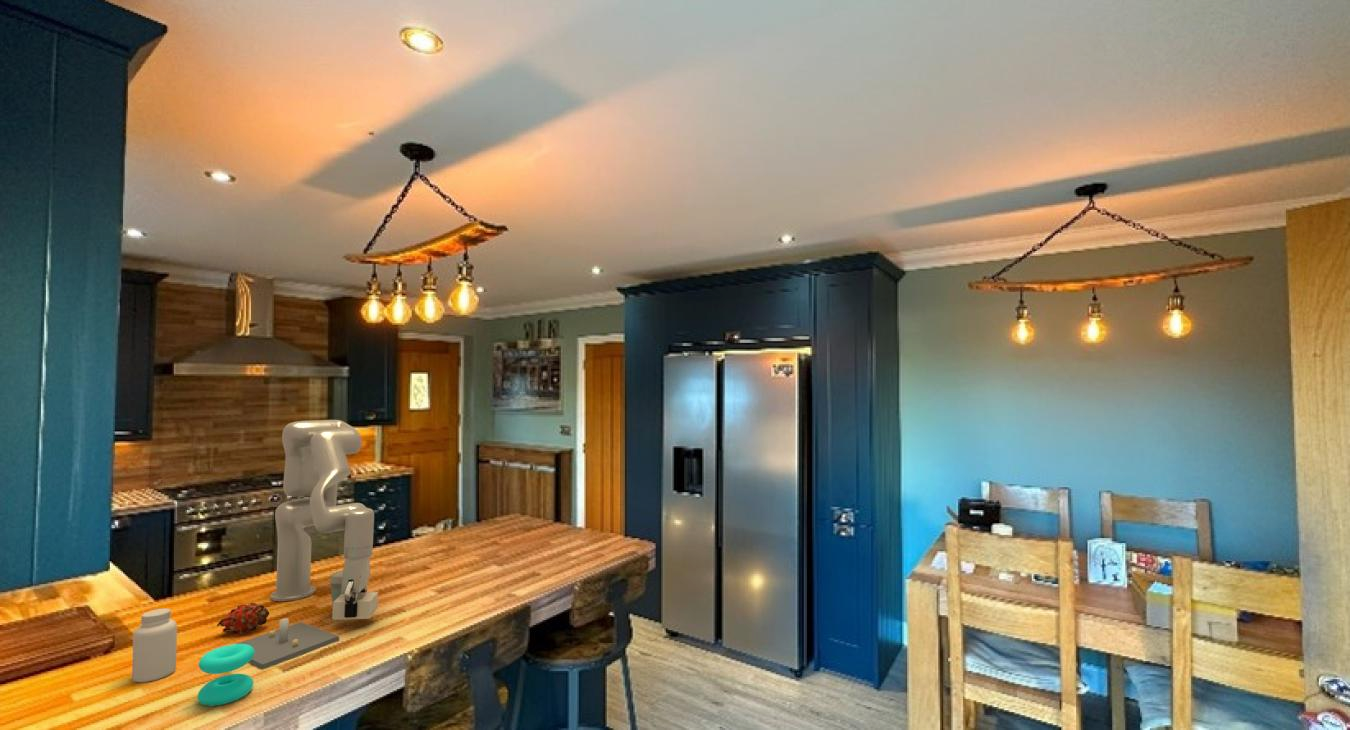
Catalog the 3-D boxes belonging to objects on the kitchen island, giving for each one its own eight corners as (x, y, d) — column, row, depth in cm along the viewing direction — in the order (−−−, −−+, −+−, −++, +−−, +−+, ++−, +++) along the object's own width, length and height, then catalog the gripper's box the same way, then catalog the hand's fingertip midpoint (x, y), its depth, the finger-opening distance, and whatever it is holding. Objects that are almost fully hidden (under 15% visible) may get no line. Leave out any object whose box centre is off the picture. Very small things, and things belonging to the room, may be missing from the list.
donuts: (259, 638, 138) (247, 656, 128) (258, 681, 137) (246, 702, 128) (207, 646, 134) (191, 665, 125) (206, 690, 133) (190, 712, 124)
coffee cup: (345, 618, 174) (346, 578, 175) (321, 616, 176) (322, 576, 177) (366, 608, 183) (367, 569, 183) (342, 605, 185) (343, 567, 185)
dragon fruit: (272, 633, 167) (220, 649, 161) (271, 608, 173) (221, 623, 167) (268, 616, 163) (214, 631, 157) (267, 591, 169) (215, 605, 162)
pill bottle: (149, 667, 144) (152, 606, 144) (184, 666, 144) (186, 605, 145) (122, 684, 136) (124, 619, 136) (158, 682, 136) (161, 618, 137)
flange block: (332, 619, 166) (332, 602, 166) (341, 609, 173) (342, 593, 173) (369, 618, 168) (370, 601, 168) (377, 608, 175) (378, 592, 175)
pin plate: (225, 651, 152) (225, 624, 153) (300, 626, 169) (301, 601, 169) (262, 669, 143) (263, 640, 143) (339, 640, 160) (339, 614, 160)
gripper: (355, 542, 179) (352, 600, 178) (332, 560, 161) (329, 624, 161) (381, 542, 180) (378, 599, 180) (361, 560, 163) (358, 623, 163)
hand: (355, 611), depth 170 cm, fingers closed on flange block, 7 cm apart
